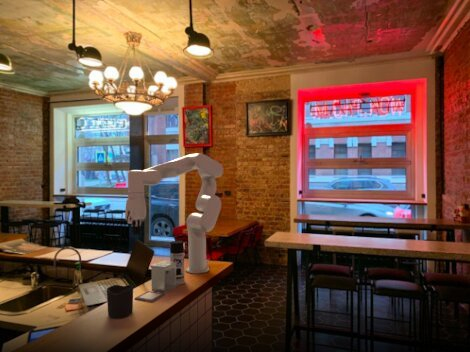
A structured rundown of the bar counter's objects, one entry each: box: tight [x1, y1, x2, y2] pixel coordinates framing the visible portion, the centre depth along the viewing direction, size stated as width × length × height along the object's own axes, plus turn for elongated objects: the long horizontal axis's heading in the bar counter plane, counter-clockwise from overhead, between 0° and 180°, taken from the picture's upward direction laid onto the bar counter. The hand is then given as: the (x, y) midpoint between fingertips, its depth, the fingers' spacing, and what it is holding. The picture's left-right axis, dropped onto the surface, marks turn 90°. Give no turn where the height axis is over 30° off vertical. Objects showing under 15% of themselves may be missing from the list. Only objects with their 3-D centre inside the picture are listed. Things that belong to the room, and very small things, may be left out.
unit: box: [150, 259, 177, 295], centre depth 152 cm, size 10×8×12 cm
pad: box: [134, 290, 166, 303], centre depth 142 cm, size 9×9×1 cm
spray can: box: [169, 240, 185, 286], centre depth 161 cm, size 7×7×20 cm
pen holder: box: [106, 284, 134, 320], centre depth 125 cm, size 9×9×10 cm
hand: (136, 234), depth 158 cm, fingers closed
